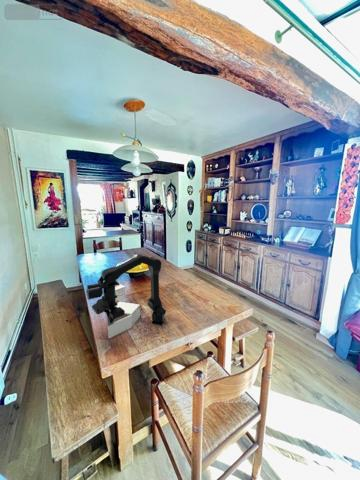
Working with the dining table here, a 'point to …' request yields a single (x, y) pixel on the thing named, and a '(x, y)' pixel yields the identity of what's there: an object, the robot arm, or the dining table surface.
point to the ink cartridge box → (120, 292)
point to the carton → (129, 311)
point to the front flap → (119, 326)
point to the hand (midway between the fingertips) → (110, 322)
